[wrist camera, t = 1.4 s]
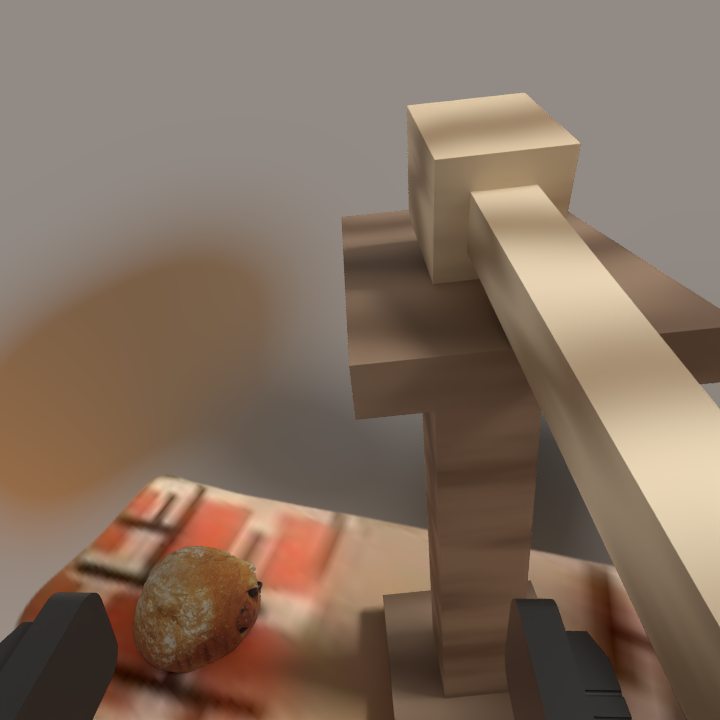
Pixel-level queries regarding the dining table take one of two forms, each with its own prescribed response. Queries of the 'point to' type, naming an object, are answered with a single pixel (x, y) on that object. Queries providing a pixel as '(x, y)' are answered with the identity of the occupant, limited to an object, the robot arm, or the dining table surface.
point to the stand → (472, 446)
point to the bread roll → (195, 608)
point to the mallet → (583, 364)
